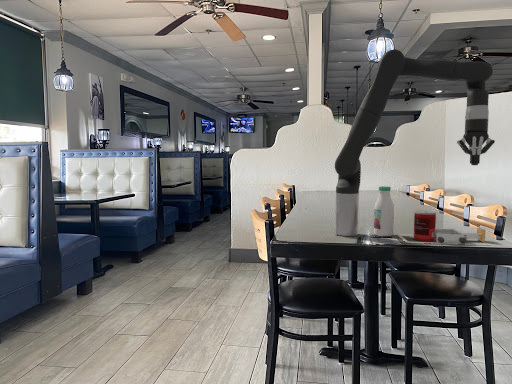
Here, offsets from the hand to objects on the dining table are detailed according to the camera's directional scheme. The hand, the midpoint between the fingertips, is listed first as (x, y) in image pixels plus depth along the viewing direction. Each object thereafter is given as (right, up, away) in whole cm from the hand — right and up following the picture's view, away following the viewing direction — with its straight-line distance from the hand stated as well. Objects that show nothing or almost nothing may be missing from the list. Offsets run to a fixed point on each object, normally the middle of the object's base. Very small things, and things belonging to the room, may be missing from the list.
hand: (474, 165), depth 146 cm
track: (-11, -29, +4) cm, 31 cm away
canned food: (-17, -29, +5) cm, 34 cm away
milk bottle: (-30, -28, +14) cm, 43 cm away
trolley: (-6, -29, +3) cm, 30 cm away
